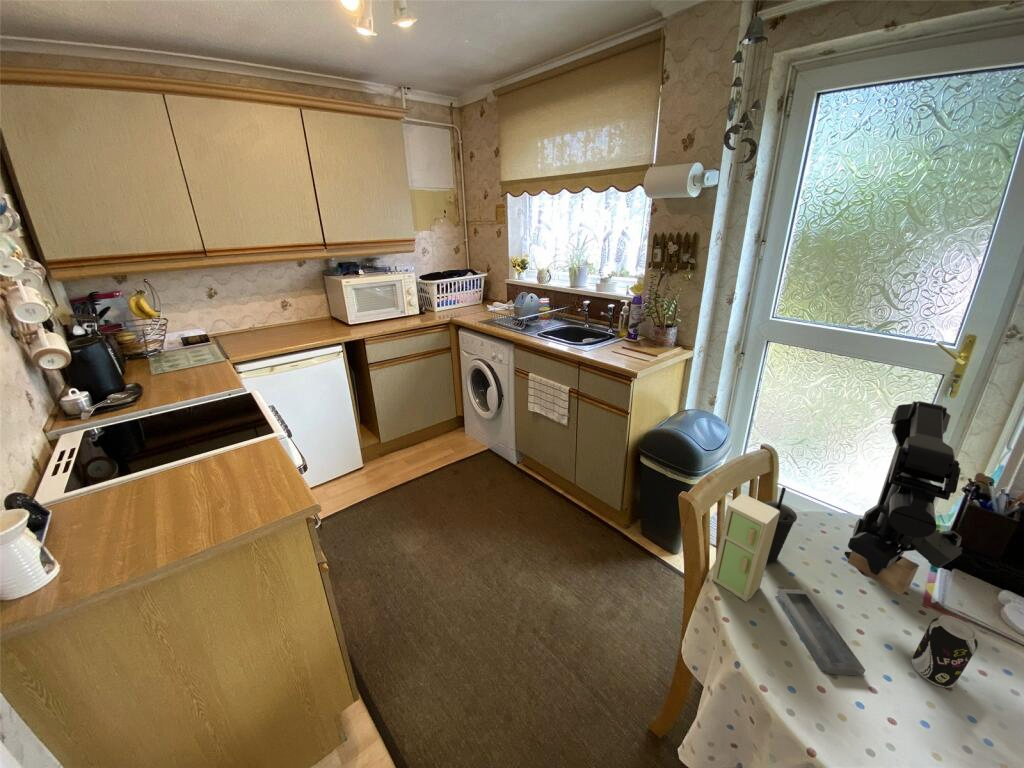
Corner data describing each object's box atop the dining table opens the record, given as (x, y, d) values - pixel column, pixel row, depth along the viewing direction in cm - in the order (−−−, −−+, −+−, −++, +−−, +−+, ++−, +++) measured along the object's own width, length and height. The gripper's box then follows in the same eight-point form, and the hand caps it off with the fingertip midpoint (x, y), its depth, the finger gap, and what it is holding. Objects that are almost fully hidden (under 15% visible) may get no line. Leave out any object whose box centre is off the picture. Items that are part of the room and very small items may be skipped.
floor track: (773, 595, 90) (775, 588, 89) (808, 597, 89) (810, 590, 88) (823, 674, 74) (826, 667, 73) (865, 677, 73) (868, 670, 73)
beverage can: (917, 682, 73) (943, 634, 68) (904, 653, 78) (928, 607, 73) (960, 696, 70) (990, 648, 66) (944, 665, 75) (970, 618, 71)
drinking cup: (745, 560, 99) (764, 491, 92) (748, 540, 105) (765, 474, 98) (782, 573, 95) (805, 502, 88) (782, 552, 101) (803, 484, 94)
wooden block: (847, 562, 86) (855, 539, 84) (855, 557, 87) (864, 535, 85) (900, 595, 78) (911, 571, 76) (908, 589, 79) (919, 565, 77)
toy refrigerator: (708, 580, 93) (725, 505, 86) (724, 565, 98) (742, 492, 90) (744, 604, 87) (766, 526, 80) (760, 587, 92) (782, 511, 84)
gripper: (938, 552, 66) (904, 621, 72) (987, 518, 74) (953, 583, 79) (859, 511, 75) (834, 575, 81) (910, 485, 83) (884, 545, 89)
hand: (878, 570), depth 82 cm, fingers closed on wooden block, 3 cm apart
